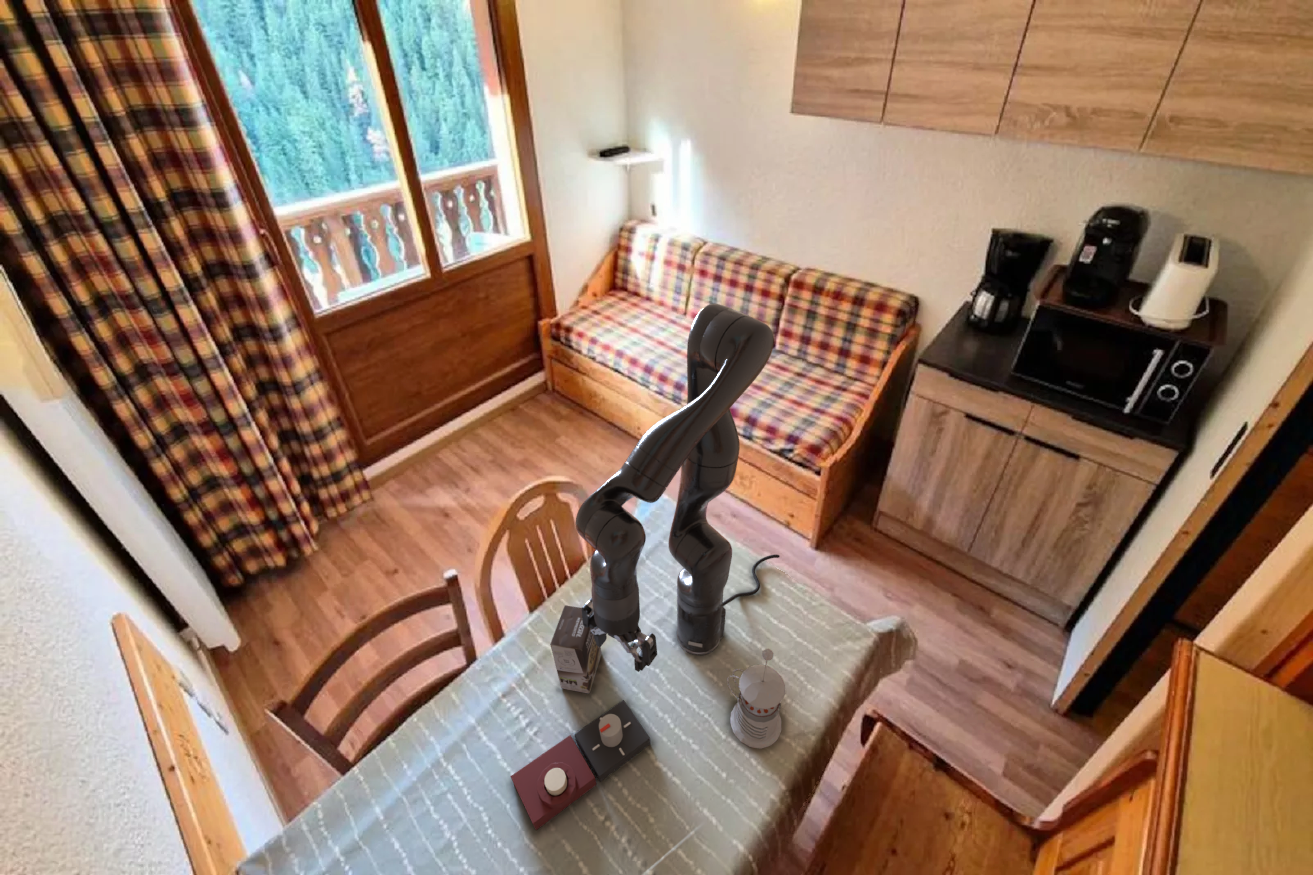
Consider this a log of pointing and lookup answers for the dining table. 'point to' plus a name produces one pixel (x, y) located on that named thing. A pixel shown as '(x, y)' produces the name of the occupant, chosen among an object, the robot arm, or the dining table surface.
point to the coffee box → (575, 651)
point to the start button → (555, 781)
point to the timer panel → (614, 757)
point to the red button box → (533, 781)
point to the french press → (758, 704)
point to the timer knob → (610, 730)
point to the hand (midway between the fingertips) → (620, 654)
